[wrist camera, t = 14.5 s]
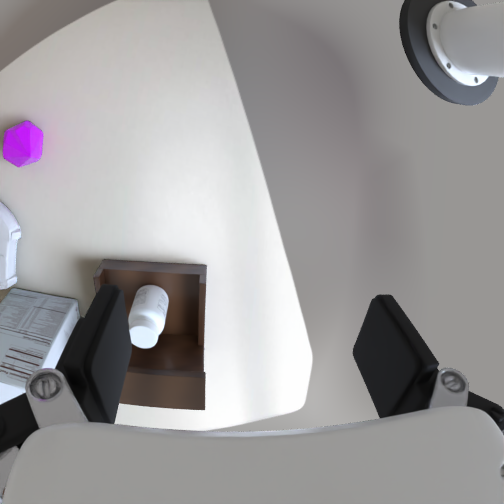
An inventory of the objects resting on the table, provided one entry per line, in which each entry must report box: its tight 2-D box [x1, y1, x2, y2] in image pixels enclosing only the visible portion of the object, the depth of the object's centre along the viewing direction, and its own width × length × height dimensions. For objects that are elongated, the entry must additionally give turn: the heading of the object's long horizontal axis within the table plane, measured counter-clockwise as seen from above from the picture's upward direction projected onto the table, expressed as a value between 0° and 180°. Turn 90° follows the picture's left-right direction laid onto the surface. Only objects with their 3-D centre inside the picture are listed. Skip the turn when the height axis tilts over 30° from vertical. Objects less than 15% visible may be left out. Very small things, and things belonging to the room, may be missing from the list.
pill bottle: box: [128, 285, 169, 348], centre depth 36 cm, size 4×4×8 cm
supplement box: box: [0, 288, 80, 404], centre depth 36 cm, size 17×13×18 cm
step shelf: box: [93, 259, 207, 410], centre depth 39 cm, size 14×16×11 cm
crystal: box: [3, 121, 43, 167], centre depth 28 cm, size 5×5×5 cm
